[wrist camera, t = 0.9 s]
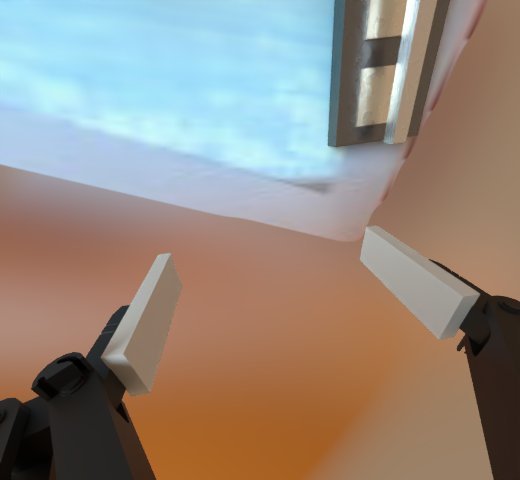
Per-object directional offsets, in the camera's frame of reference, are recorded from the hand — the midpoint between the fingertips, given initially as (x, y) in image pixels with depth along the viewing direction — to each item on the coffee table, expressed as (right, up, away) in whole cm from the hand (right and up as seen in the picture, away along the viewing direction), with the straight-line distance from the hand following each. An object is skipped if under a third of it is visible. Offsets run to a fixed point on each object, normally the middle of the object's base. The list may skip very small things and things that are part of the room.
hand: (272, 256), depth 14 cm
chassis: (+16, +30, +16) cm, 37 cm away
